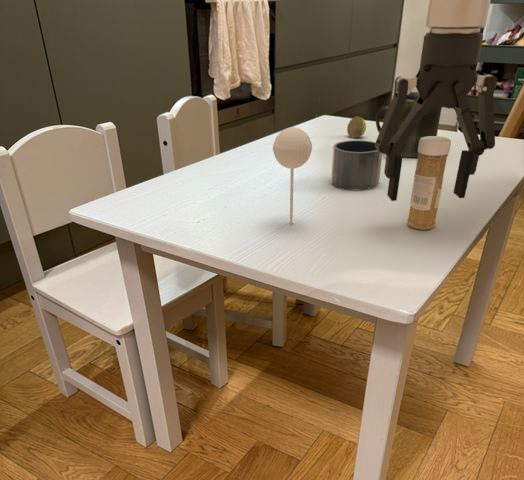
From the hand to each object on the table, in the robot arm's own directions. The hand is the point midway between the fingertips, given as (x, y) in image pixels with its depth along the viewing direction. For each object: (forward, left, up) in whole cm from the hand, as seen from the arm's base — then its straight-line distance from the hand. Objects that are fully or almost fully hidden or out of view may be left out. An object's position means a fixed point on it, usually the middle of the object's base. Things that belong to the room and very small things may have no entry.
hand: (425, 196), depth 79 cm
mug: (-10, -44, -5) cm, 45 cm away
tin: (+6, -23, -5) cm, 24 cm away
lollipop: (+21, -3, -5) cm, 22 cm away
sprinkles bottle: (0, 0, -5) cm, 5 cm away
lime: (-2, -60, -5) cm, 60 cm away
